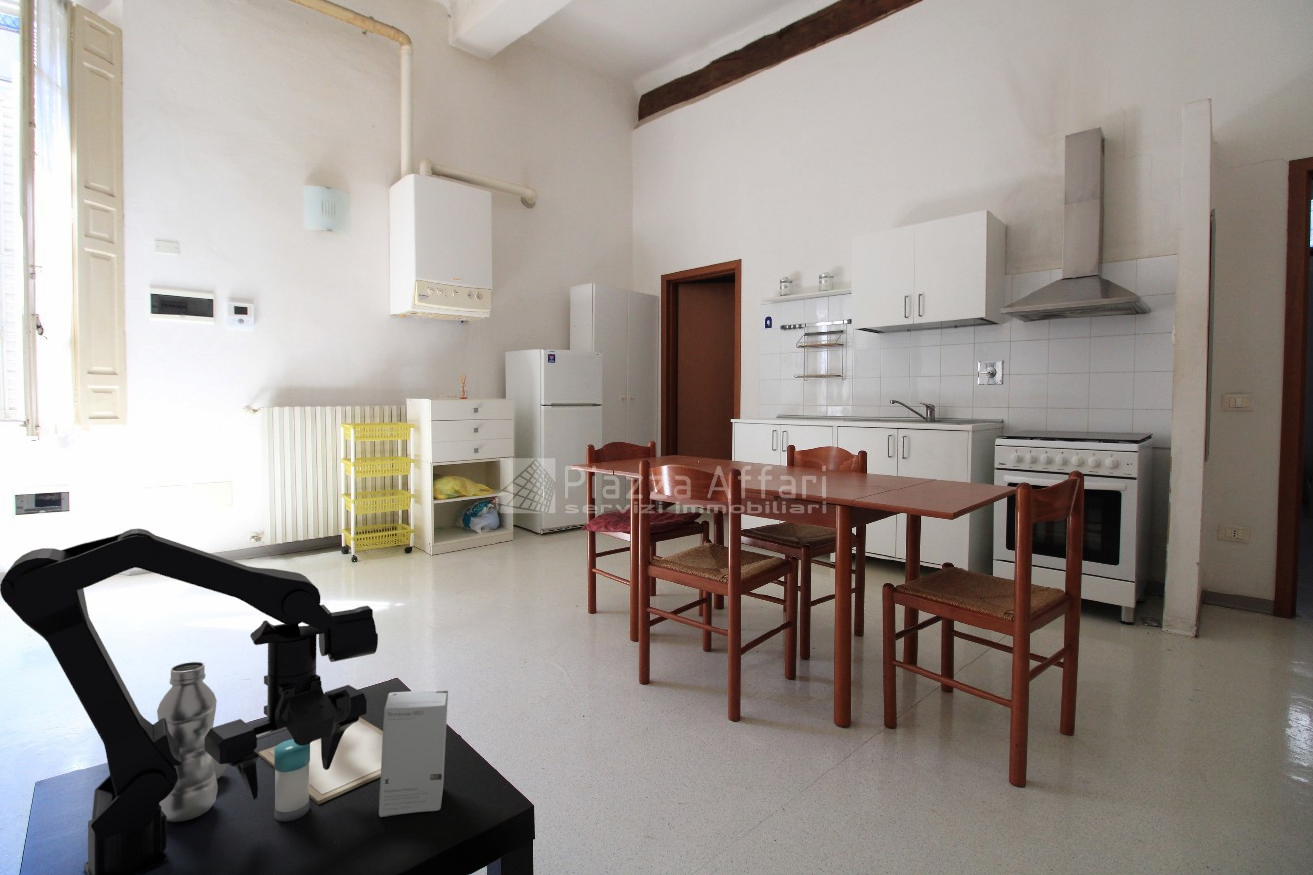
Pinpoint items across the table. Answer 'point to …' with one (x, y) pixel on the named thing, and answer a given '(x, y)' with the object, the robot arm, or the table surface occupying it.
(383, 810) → the skincare box
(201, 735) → the plastic bottle
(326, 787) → the picture frame
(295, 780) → the cylinder
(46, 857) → the table surface
